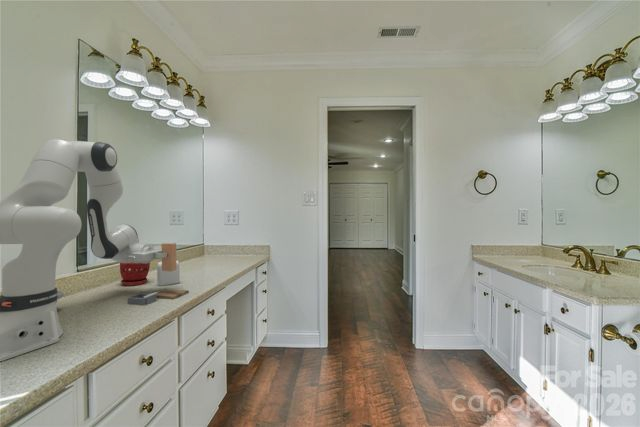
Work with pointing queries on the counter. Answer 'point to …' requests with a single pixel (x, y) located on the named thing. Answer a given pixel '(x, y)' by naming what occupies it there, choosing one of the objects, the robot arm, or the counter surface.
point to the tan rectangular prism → (169, 257)
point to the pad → (171, 293)
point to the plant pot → (134, 273)
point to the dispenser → (142, 299)
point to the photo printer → (167, 275)
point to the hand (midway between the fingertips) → (170, 254)
